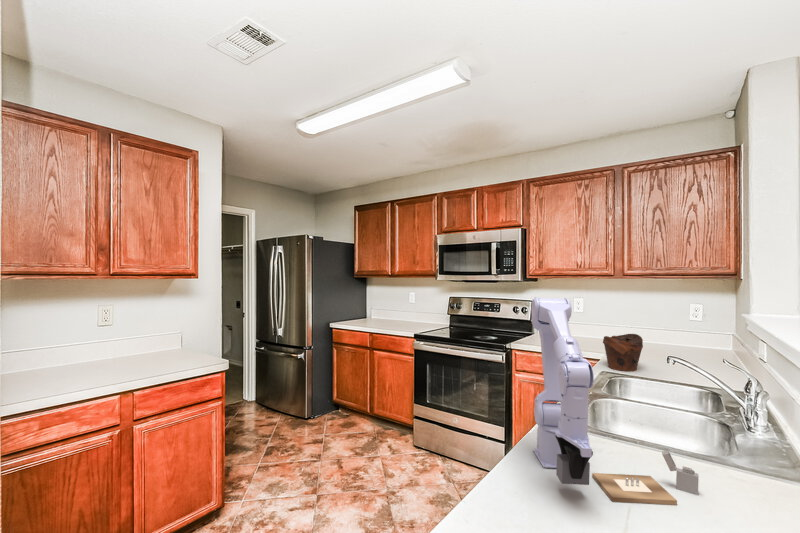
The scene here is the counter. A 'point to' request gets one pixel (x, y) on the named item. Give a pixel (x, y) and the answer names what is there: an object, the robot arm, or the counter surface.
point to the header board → (633, 489)
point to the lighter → (683, 475)
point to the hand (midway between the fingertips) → (572, 472)
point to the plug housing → (564, 471)
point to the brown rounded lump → (623, 351)
